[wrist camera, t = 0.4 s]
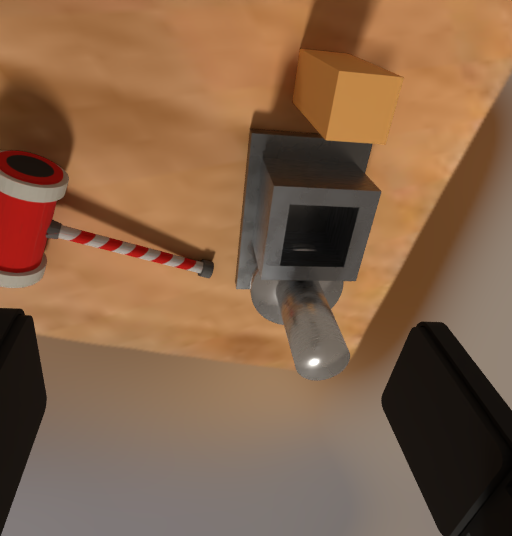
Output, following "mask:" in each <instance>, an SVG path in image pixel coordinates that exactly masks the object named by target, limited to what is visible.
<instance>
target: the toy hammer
mask: <svg viewBox="0 0 512 536" xmlns="http://www.w3.org/2000/svg"><path fill="white" fill-rule="evenodd" d="M68 181H69V177H68V174H67V173H66V172H65V170H64V169H62V168H61V167H60V166H58V165H57V164H55V163H54V162H52V161H50V160H48V159H46V158H44V157H41V156H39V155H36V154H32V153H28V152H23V151H11V150H5V151H0V287H7V288H21V287H27V286H30V285H33V284H35V283H37V282H38V281H40V280H41V279H42V277H43V275H44V272H45V268H46V264H47V258H46V255H45V254H44V249H45V245H46V241H47V238H53V239H58V238H60V239H65V240H69V241H73V242H77V243H81V244H85V245H89V246H93V247H97V248H101V249H105V250H109V251H113V252H117V253H121V254H125V255H129V256H133V257H137V258H141V259H145V260H149V261H153V262H157V263H161V264H165V265H169V266H173V267H177V268H181V269H185V270H189V271H193V272H197V273H198V276H201V277H205V278H210V277H211V275H212V273H213V269H214V263H213V262H211V261H207V260H202V261H201V262H200V261H196V260H192V259H188V258H184V257H181V256H177V255H173V254H169V253H165V252H162V251H158V250H154V249H150V248H146V247H143V246H139V245H135V244H131V243H127V242H124V241H120V240H116V239H112V238H108V237H105V236H101V235H97V234H93V233H89V232H86V231H82V230H78V229H74V228H71V227H67V226H63V225H62V224H61V223H59V222H56V221H54V220H52V218H53V214H54V210H55V206H56V202H57V200H60V199H61V198H63V197H64V195H65V192H66V189H67V185H68Z"/></svg>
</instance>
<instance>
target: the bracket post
mask: <svg viewBox="0 0 512 536" xmlns="http://www.w3.org/2000/svg"><path fill="white" fill-rule="evenodd" d="M371 148H372V144H370V143H356V142H342V141H328V140H325V139H324V138H323V137H322V136H321V134H315V133H302V132H288V131H275V130H261V129H250V133H249V144H248V154H247V164H246V175H245V185H244V196H243V206H242V216H241V227H240V237H239V247H238V258H237V268H236V279H235V283H236V289H250V292H251V297H252V301H253V304H254V306H255V308H256V310H257V311H258V312H259V313H260V314H261V315H262V316H263V317H264V318H266V319H268V320H269V321H272V322H274V323H277V324H282V325H284V326H285V330H286V334H287V337H288V341H289V345H290V348H291V352H292V356H293V359H294V363H295V367H296V370H297V372H298V373H299V374H300V375H301V376H302V377H304V378H306V379H309V380H325V379H328V378H331V377H333V376H335V375H337V374H339V373H340V372H341V371H343V370H344V369H345V367H346V366H347V364H348V362H349V359H350V353H349V350H348V348H347V346H346V343H345V341H344V339H343V336H342V334H341V332H340V329H339V327H338V325H337V322H336V320H335V318H334V315H333V313H332V311H331V308H332V307H333V306H334V305H335V304H336V302H337V301H338V299H339V297H340V295H341V293H342V289H343V281H356V279H357V275H358V272H359V268H360V265H361V261H362V258H363V254H364V251H365V247H366V244H367V240H368V237H369V233H370V230H371V226H372V223H373V219H374V216H375V212H376V209H377V205H378V202H379V198H380V195H381V190H380V189H379V188H378V187H377V186H376V185H375V184H374V183H373V182H372V181H371V180H370V179H369V177H368V176H367V175H366V174H365V171H366V167H367V163H368V159H369V155H370V151H371Z"/></svg>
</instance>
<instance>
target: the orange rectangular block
mask: <svg viewBox="0 0 512 536" xmlns="http://www.w3.org/2000/svg"><path fill="white" fill-rule="evenodd" d="M403 78H404V77H402V76H399V75H397V74H395V73H392V72H390V71H388V70H385V69H383V68H381V67H378V66H376V65H374V64H371V63H369V62H367V61H364V60H362V59H360V58H357V57H355V56H353V55H350V54H347V53H338V52H328V51H319V50H310V49H300V51H299V58H298V65H297V72H296V79H295V86H294V93H293V100H292V102H293V103H294V105H295V106H296V107H297V108H298V109H299V110H300V111H301V113H302V114H303V115H304V116H305V117H306V118H307V119H308V121H309V122H310V123H311V124H312V125H313V126H314V128H315V129H316V130H317V131H318V132H319V133H320V134H321V136H322V137H323V138H324V139H325V140H328V141H342V142H356V143H370V144H384V145H385V144H386V140H387V137H388V133H389V130H390V126H391V122H392V119H393V115H394V111H395V108H396V104H397V100H398V97H399V93H400V89H401V86H402V82H403Z"/></svg>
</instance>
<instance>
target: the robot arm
mask: <svg viewBox="0 0 512 536" xmlns="http://www.w3.org/2000/svg"><path fill="white" fill-rule="evenodd" d="M46 400H47V397H46V390H45V385H44V379H43V373H42V367H41V362H40V356H39V350H38V345H37V339H36V333H35V328H34V322H33V318H32V316H29V315H25V314H24V311H23V310H22V309H12V308H0V536H1V533H2V531H3V528H4V525H5V522H6V519H7V517H8V514H9V511H10V508H11V505H12V502H13V499H14V497H15V494H16V491H17V488H18V486H19V483H20V480H21V477H22V474H23V471H24V469H25V466H26V463H27V460H28V457H29V454H30V452H31V448H32V446H33V443H34V440H35V438H36V434H37V432H38V429H39V426H40V423H41V420H42V417H43V415H44V412H45V408H46ZM381 401H382V407H383V410H384V412H385V414H386V417H387V419H388V421H389V423H390V425H391V427H392V430H393V432H394V434H395V436H396V438H397V440H398V443H399V445H400V447H401V449H402V451H403V454H404V456H405V458H406V460H407V462H408V464H409V467H410V469H411V471H412V473H413V475H414V477H415V480H416V482H417V484H418V486H419V488H420V490H421V493H422V495H423V497H424V499H425V501H426V503H427V506H428V508H429V510H430V512H431V514H432V516H433V519H434V521H435V523H436V525H437V528H438V529H439V531H440V533H441V534H442V535H443V536H512V410H511V409H510V408H509V407H508V405H507V404H506V403H505V401H504V400H503V399H502V397H501V396H500V395H499V393H498V392H497V391H496V390H495V388H494V387H493V386H492V384H491V383H490V382H489V380H488V379H487V378H486V376H485V375H484V374H483V373H482V371H481V370H480V369H479V367H478V366H477V365H476V363H475V362H474V361H473V360H472V358H471V357H470V356H469V354H468V353H467V352H466V350H465V349H464V348H463V346H462V345H461V344H460V343H459V341H458V340H457V339H456V337H455V336H454V335H453V333H452V332H451V331H450V330H449V328H448V327H447V326H446V325H445V324H444V323H442V322H420V323H419V324H417V326H416V327H413V328H412V329H411V331H410V333H409V335H408V337H407V340H406V342H405V344H404V347H403V349H402V351H401V353H400V356H399V358H398V360H397V362H396V365H395V367H394V369H393V371H392V374H391V376H390V378H389V381H388V383H387V386H386V388H385V390H384V392H383V394H382V400H381Z"/></svg>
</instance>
